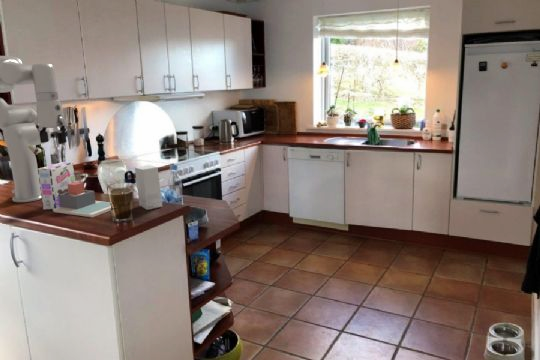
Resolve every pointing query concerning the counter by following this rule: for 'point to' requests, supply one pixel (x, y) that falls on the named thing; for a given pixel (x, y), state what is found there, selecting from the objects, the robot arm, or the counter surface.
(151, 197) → the skincare box
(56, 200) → the candy box
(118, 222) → the counter surface
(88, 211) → the grey block on board
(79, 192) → the die plunger
